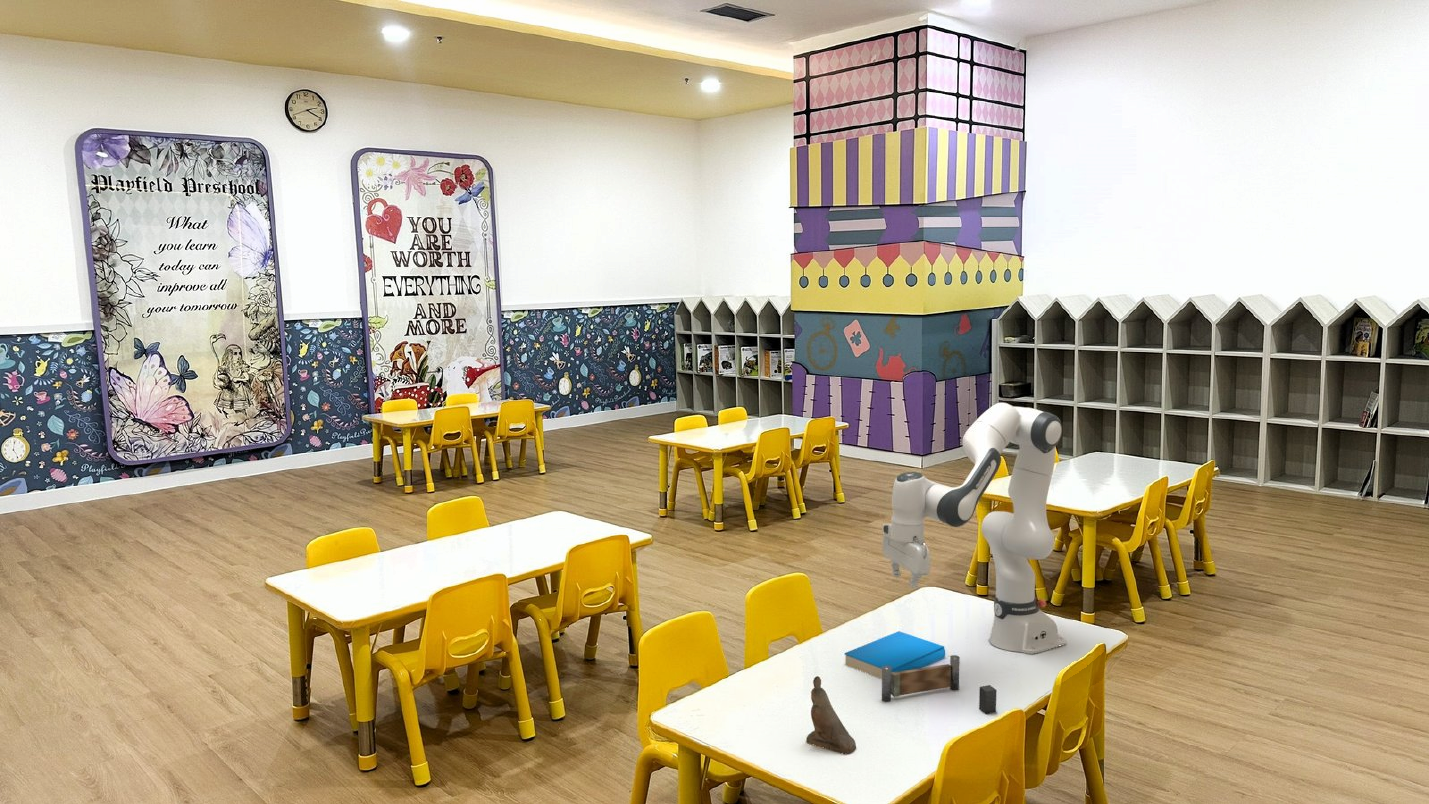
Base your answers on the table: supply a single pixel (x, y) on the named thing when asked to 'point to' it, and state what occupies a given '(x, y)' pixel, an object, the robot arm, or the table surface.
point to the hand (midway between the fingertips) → (904, 581)
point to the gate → (920, 680)
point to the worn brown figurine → (827, 724)
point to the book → (894, 654)
